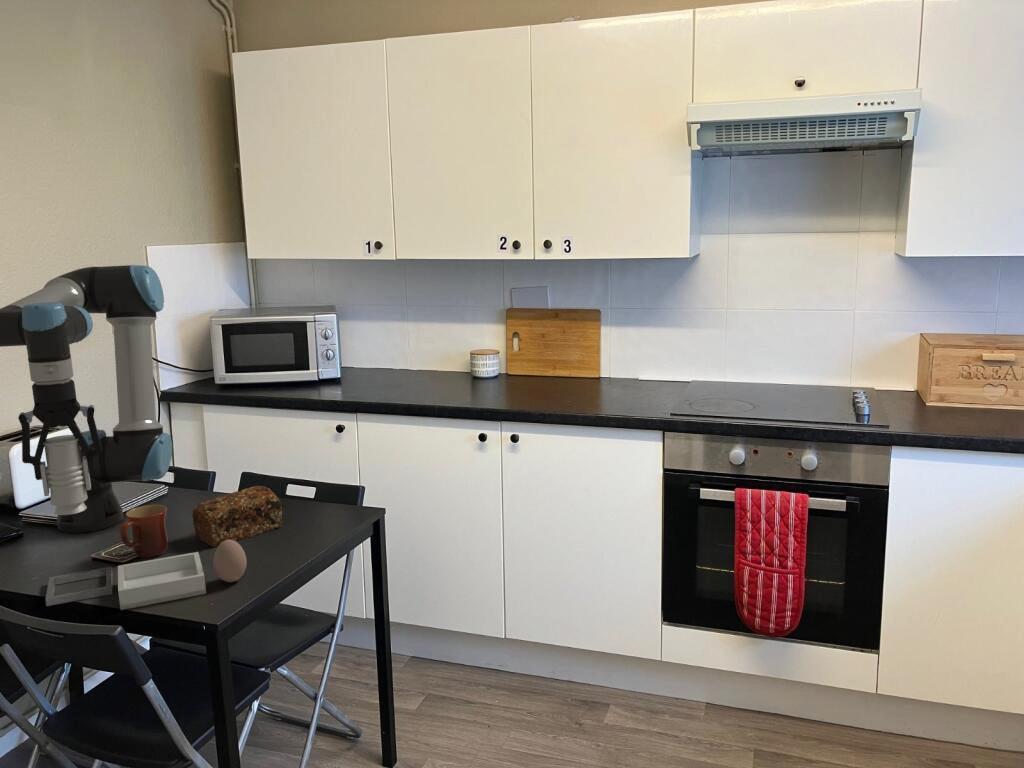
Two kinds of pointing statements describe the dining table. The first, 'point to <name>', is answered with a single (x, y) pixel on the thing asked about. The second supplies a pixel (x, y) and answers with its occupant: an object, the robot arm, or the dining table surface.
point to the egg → (229, 561)
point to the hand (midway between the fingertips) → (68, 491)
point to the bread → (237, 515)
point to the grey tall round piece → (65, 474)
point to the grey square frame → (81, 594)
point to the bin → (160, 580)
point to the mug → (146, 530)
